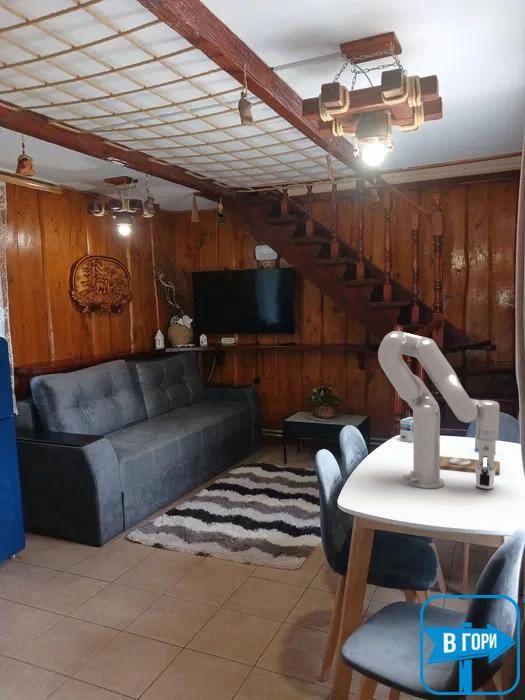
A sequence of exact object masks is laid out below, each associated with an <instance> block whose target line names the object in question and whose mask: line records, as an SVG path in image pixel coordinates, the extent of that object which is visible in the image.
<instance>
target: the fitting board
mask: <svg viewBox="0 0 525 700" xmlns="http://www.w3.org/2000/svg"><path fill="white" fill-rule="evenodd" d="M500 464H501V463H500V461H499V460H498V461H497V460H496V461H495V460H494V468H495V469H496V470H495V476H500V467H501V466H500ZM476 465H479V459H473V458H466V457H465V458H463V457H452V456H441V455H440V470H445V471H453V470H454V472H455V471H456V472H463V473H464V472H465V473H474V474H476V469H475V466H476Z"/></svg>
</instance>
